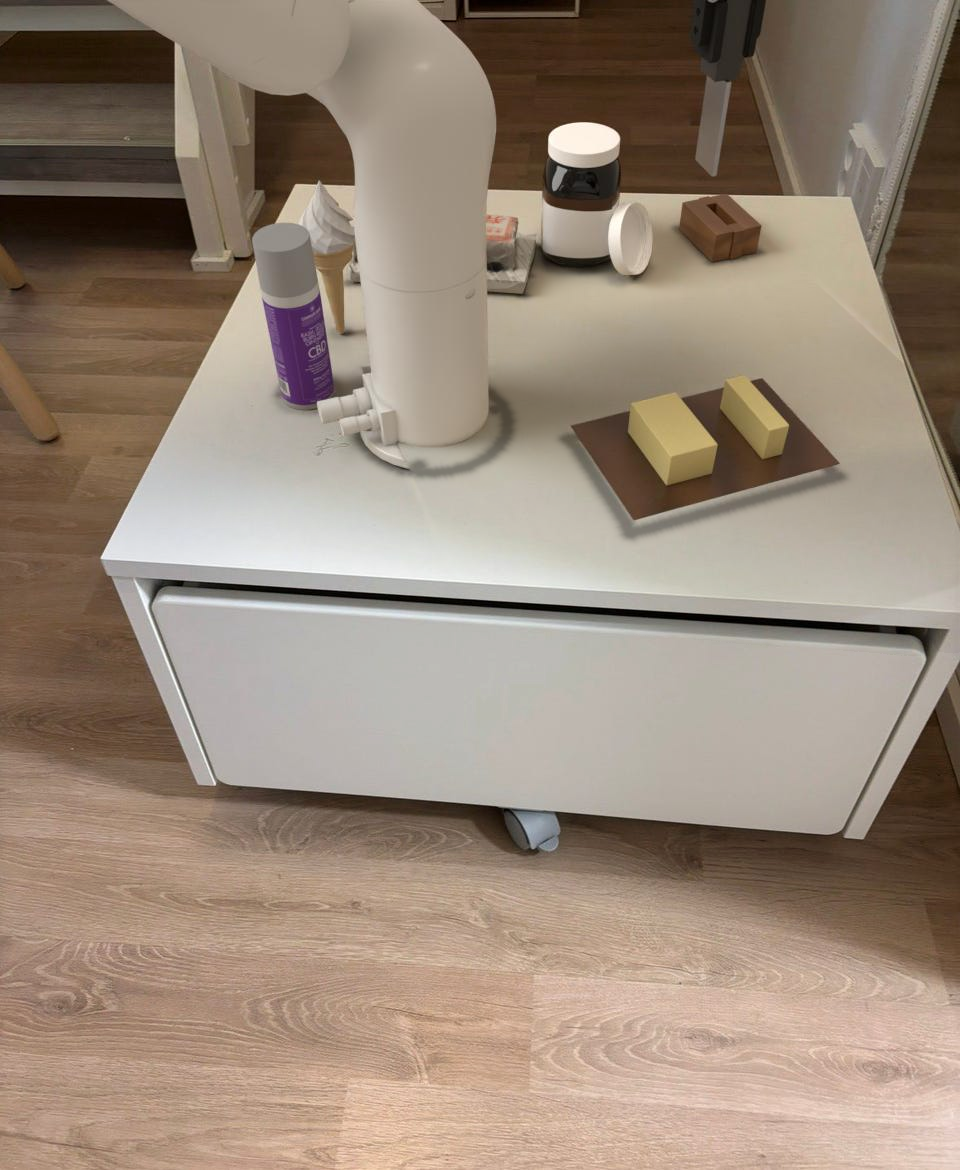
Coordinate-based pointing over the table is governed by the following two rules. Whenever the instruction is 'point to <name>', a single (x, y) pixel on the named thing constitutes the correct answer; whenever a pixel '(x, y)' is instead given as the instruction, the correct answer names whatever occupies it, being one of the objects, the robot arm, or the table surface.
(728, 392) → the butter slice
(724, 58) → the knife
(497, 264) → the packaged product
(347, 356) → the table surface
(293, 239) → the container
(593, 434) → the board
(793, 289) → the table surface
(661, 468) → the butter block
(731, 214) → the knife block
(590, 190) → the spread jar
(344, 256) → the ice cream cone
